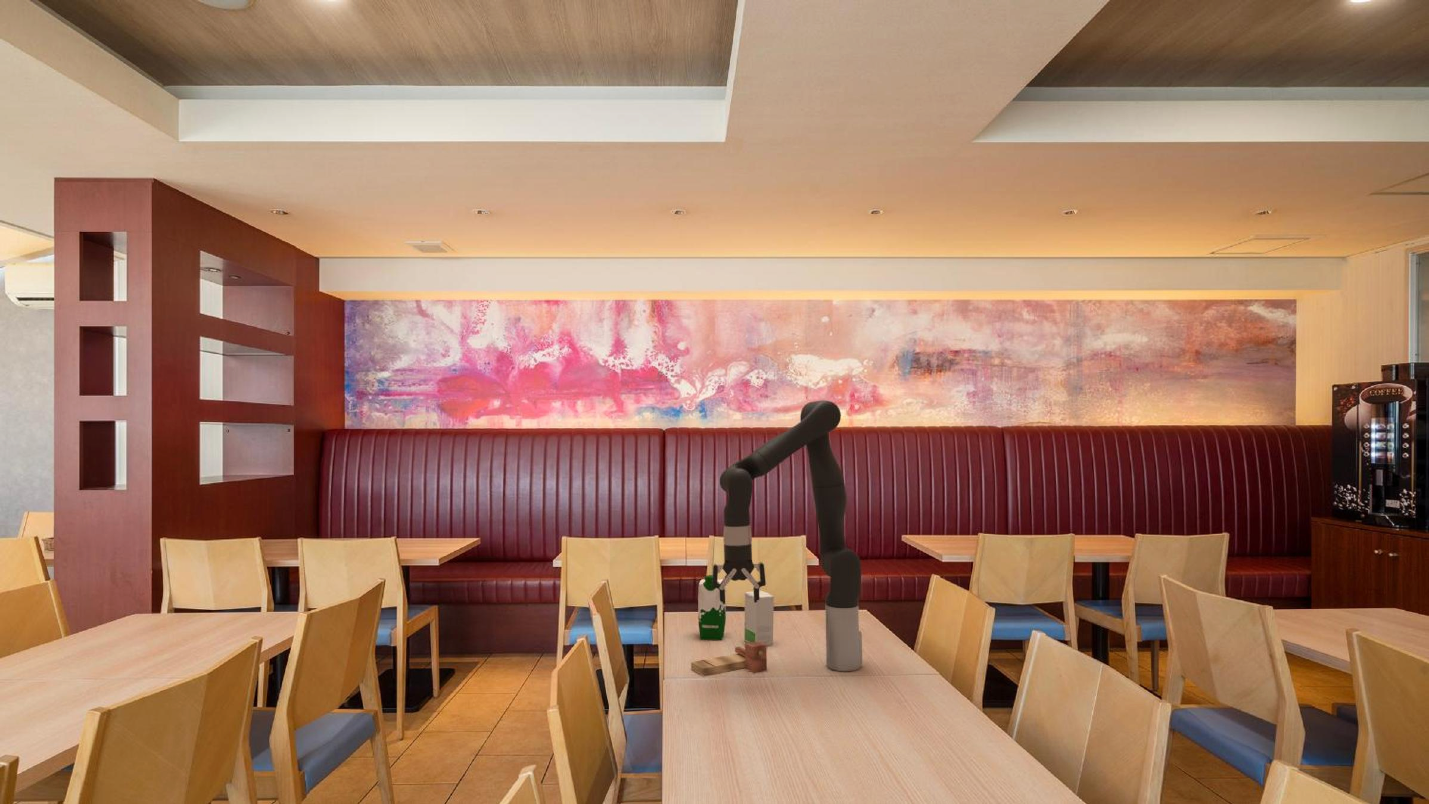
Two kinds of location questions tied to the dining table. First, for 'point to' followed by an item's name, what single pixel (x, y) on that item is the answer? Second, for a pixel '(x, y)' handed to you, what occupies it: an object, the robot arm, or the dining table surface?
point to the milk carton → (710, 610)
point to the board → (718, 664)
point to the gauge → (754, 656)
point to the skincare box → (759, 618)
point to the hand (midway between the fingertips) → (739, 602)
